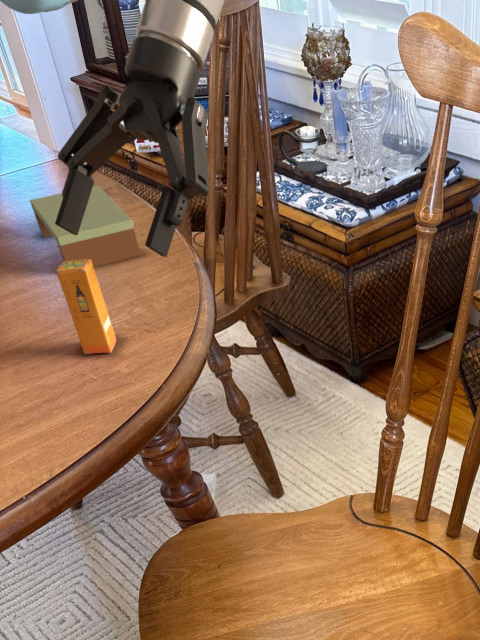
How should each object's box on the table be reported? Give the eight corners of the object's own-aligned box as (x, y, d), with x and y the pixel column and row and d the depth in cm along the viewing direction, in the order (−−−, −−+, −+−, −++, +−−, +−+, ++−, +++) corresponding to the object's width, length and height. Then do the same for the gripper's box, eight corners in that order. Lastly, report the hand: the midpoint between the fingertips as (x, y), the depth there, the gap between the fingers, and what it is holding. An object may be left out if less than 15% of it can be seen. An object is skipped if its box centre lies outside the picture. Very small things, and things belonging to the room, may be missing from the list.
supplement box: (118, 339, 92) (93, 256, 85) (112, 354, 90) (85, 270, 83) (90, 340, 92) (62, 258, 85) (82, 355, 90) (54, 272, 83)
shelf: (41, 234, 115) (29, 199, 112) (108, 218, 119) (98, 185, 116) (69, 273, 105) (56, 237, 102) (141, 255, 109) (131, 219, 106)
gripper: (278, 87, 85) (217, 274, 86) (109, 66, 94) (56, 235, 95) (239, 41, 78) (173, 245, 79) (62, 23, 87) (5, 206, 88)
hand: (109, 240), depth 87 cm, fingers open, 13 cm apart
